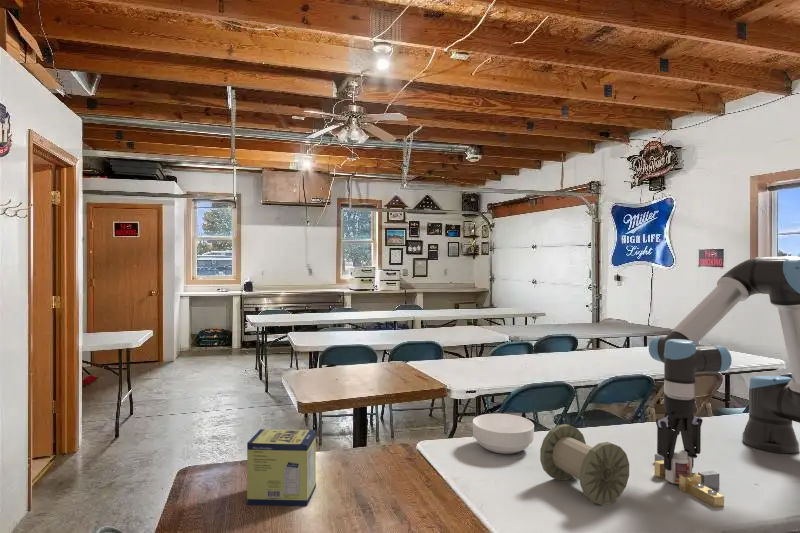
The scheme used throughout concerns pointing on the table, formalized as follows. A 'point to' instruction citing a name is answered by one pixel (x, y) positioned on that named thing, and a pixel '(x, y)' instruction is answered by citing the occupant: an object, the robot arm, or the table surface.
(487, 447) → the bowl
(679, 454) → the pill bottle
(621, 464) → the spool
